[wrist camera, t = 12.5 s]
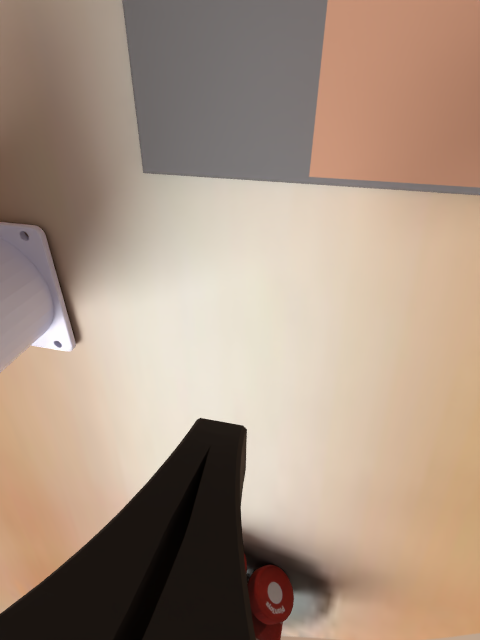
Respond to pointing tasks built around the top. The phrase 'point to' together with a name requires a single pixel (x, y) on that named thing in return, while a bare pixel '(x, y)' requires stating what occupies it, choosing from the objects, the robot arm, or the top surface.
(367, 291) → the top surface
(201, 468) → the robot arm
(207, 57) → the mat
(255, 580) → the toy fire truck
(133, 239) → the top surface
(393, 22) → the block
